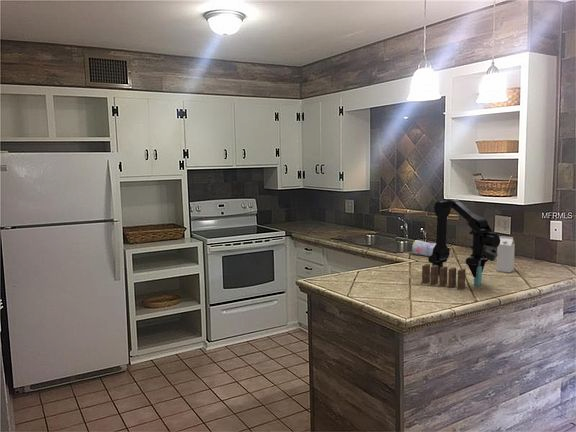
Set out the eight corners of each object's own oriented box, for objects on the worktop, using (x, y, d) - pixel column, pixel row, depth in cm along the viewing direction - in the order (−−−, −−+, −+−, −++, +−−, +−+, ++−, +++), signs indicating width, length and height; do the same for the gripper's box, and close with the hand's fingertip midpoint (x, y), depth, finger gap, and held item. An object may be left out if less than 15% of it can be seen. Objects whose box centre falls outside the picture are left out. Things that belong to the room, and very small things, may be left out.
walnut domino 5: (457, 288, 232) (457, 270, 231) (461, 286, 236) (461, 268, 235) (461, 289, 231) (461, 271, 230) (465, 287, 235) (465, 269, 234)
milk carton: (500, 268, 270) (501, 235, 268) (513, 270, 265) (515, 236, 263) (496, 271, 264) (497, 236, 262) (510, 272, 260) (511, 238, 258)
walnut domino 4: (448, 287, 235) (448, 269, 234) (452, 285, 239) (452, 267, 238) (452, 287, 234) (452, 269, 233) (456, 285, 238) (456, 267, 237)
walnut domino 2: (430, 284, 241) (430, 266, 240) (434, 282, 245) (434, 265, 244) (434, 285, 240) (434, 267, 238) (438, 282, 243) (438, 265, 242)
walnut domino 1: (422, 283, 244) (422, 265, 243) (426, 281, 248) (426, 263, 246) (425, 283, 242) (426, 266, 241) (429, 281, 246) (430, 264, 245)
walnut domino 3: (439, 285, 238) (439, 268, 237) (443, 283, 242) (443, 266, 241) (443, 286, 237) (443, 268, 236) (447, 284, 241) (447, 266, 239)
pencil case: (447, 256, 303) (447, 242, 302) (441, 259, 297) (442, 244, 296) (416, 253, 317) (417, 238, 316) (410, 255, 311) (410, 240, 309)
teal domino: (473, 285, 237) (474, 267, 236) (477, 283, 241) (477, 265, 240) (478, 286, 236) (478, 268, 235) (481, 283, 240) (481, 266, 239)
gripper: (489, 249, 224) (488, 281, 226) (501, 242, 238) (500, 273, 240) (465, 246, 231) (464, 278, 233) (478, 240, 245) (477, 270, 247)
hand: (477, 275), depth 238 cm, fingers open, 9 cm apart
